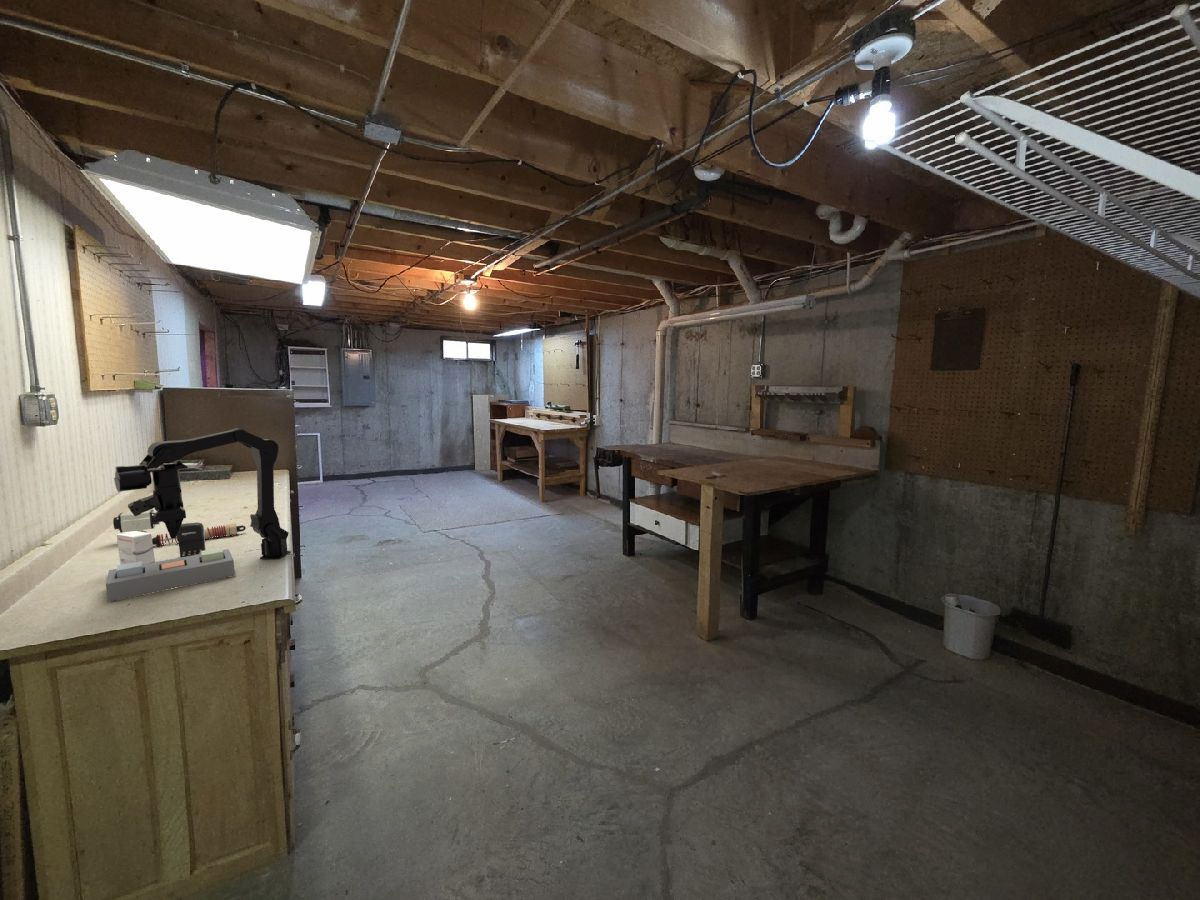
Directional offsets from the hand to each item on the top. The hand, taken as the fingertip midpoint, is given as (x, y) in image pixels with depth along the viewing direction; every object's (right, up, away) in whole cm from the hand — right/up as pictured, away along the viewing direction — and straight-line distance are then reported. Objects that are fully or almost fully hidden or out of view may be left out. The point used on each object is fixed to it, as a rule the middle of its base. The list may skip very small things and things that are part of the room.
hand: (173, 538), depth 140 cm
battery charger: (-12, -10, +21) cm, 26 cm away
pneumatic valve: (-44, -8, +36) cm, 57 cm away
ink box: (-19, -12, +9) cm, 24 cm away
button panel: (0, -13, +1) cm, 13 cm away
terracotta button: (0, -12, +1) cm, 12 cm away
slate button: (-7, -11, -6) cm, 14 cm away
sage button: (+6, -9, +6) cm, 13 cm away
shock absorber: (-25, -8, +38) cm, 46 cm away
